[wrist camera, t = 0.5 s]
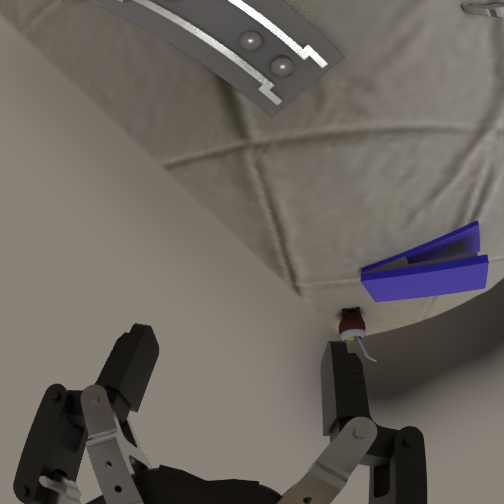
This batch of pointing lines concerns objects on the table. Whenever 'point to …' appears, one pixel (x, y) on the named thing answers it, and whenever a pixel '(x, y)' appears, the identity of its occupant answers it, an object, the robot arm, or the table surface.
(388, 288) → the stapler
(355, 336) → the mate gourd
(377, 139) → the table surface
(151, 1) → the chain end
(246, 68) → the grey studded track end
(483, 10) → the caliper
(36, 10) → the table surface
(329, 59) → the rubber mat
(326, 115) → the table surface
